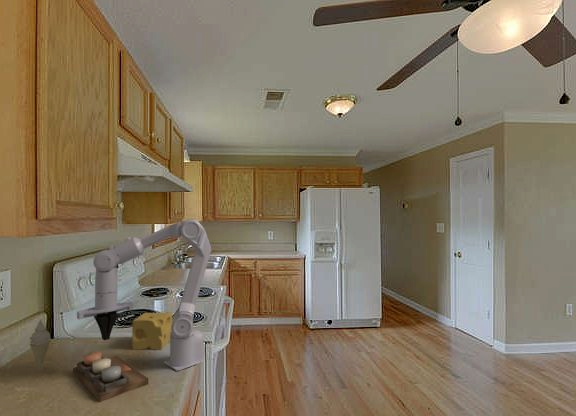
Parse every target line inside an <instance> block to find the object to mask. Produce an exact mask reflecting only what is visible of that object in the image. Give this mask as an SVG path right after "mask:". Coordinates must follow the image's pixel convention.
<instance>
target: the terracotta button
mask: <svg viewBox="0 0 576 416" xmlns="http://www.w3.org/2000/svg"><path fill="white" fill-rule="evenodd" d="M102 357H103V355H102V352H101V351H92V352H88V353H86V354H84V356H83V361H84V364H85V365H93V362H94V361H96V360H99V359H102Z"/></svg>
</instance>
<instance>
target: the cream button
mask: <svg viewBox="0 0 576 416" xmlns="http://www.w3.org/2000/svg"><path fill="white" fill-rule="evenodd" d="M107 367H111V360H110V359H106V358H104V359H99V360H96V361H94V362H93V370H92V371H93V372H94V373H101V372H102V370H103V369H105V368H107Z"/></svg>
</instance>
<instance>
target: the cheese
mask: <svg viewBox="0 0 576 416" xmlns="http://www.w3.org/2000/svg"><path fill="white" fill-rule="evenodd" d="M172 318H173V313H172V311H171V312H170V311H169V312H168V311H167V312H144V313H142V314H141V315H139V316H138V317H137V318H136V319H133V320H132V325H131V326H132V335H131V336H132V337H131V338H132V350H147V349H150V350H158V351H160V350H161V351H162V350H163V349H164V347H165V346H166V345H167V344H168V343H170V333H171V332H172V331H171V325H172Z"/></svg>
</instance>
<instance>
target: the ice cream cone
mask: <svg viewBox="0 0 576 416" xmlns="http://www.w3.org/2000/svg"><path fill="white" fill-rule="evenodd" d="M29 339H30V341H29V342H30V343H29V346H30V348H31V351H32V354H33V357H34V360H35V362H36V365H37V369H38V371H39V372H41V371H42V368H43V365H44V363H45V359H46V356H47V352H48V350H49V346H50V343H51V342H52V341H51V334H50V332H49V331H48V330H47V326H45V325H44V322H43V321H42V319H41V318H40V319H39V321H38V323H37V325H36V327H35V328H34V332H33V333H32V334H31V336H30V337H29Z"/></svg>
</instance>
